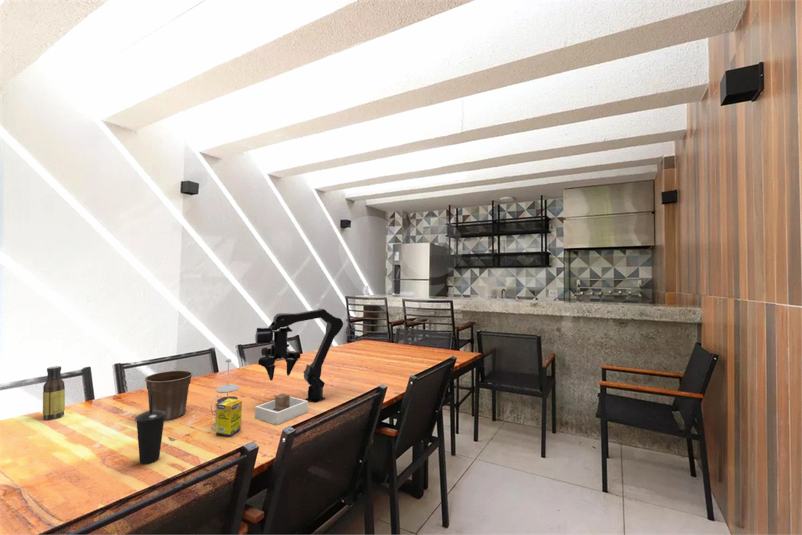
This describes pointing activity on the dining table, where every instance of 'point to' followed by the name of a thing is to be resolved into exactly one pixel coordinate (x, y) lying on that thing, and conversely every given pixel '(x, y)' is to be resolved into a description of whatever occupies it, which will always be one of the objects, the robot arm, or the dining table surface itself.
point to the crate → (282, 415)
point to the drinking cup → (150, 433)
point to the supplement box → (228, 417)
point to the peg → (282, 402)
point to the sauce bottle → (53, 394)
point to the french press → (224, 389)
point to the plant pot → (169, 392)
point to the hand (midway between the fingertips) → (279, 377)
